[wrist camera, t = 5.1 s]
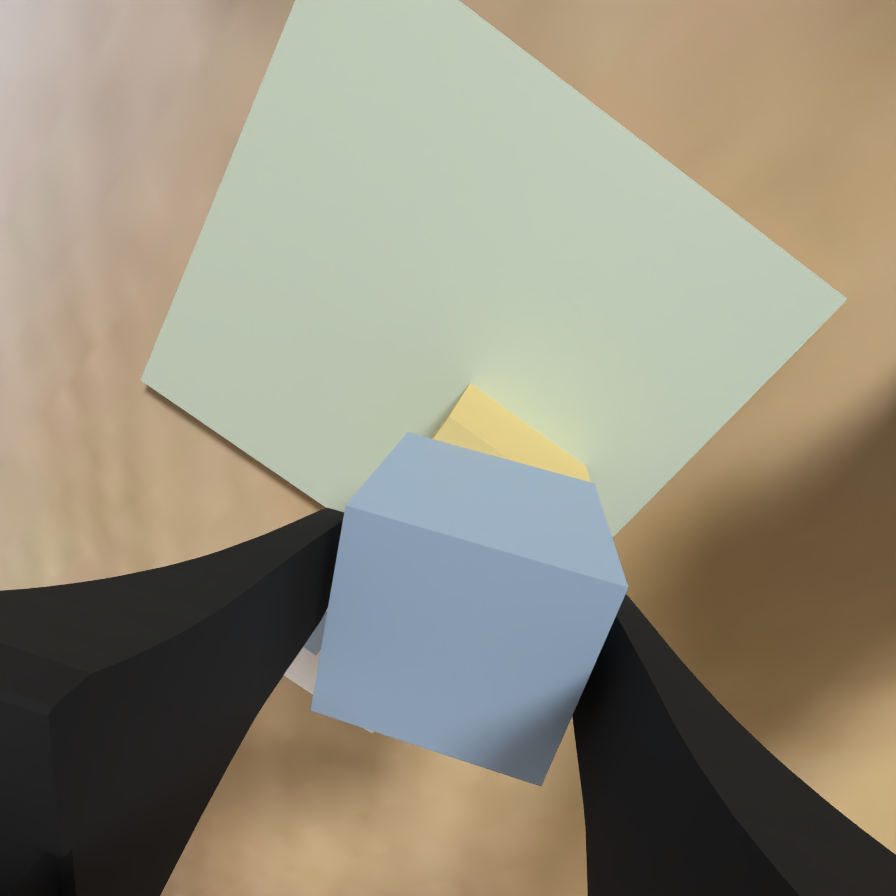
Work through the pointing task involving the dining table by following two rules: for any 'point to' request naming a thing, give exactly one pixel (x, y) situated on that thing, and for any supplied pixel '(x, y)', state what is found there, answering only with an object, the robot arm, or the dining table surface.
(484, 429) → the mustard brick
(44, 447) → the dining table surface
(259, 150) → the baseplate
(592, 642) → the blue brick
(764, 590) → the dining table surface
